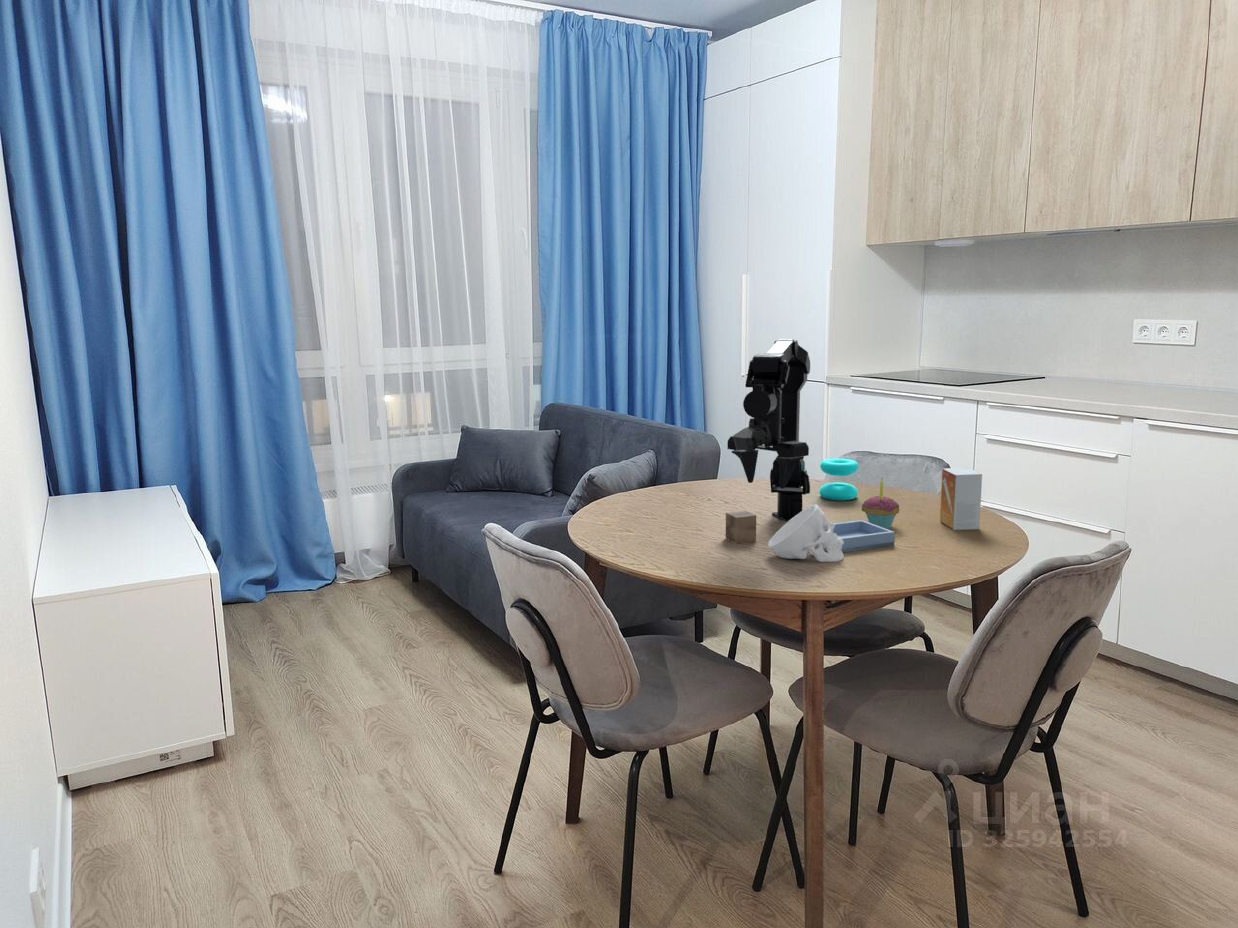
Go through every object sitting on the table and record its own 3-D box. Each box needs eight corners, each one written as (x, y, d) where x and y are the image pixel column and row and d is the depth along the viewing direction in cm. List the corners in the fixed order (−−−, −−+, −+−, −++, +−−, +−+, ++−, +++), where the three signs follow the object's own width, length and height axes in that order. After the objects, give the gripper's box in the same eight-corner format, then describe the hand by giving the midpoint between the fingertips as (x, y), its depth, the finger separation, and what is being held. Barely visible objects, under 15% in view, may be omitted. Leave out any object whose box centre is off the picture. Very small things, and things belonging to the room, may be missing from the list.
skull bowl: (855, 559, 182) (822, 508, 181) (794, 592, 185) (762, 543, 184) (851, 544, 192) (820, 496, 191) (793, 576, 195) (763, 529, 195)
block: (725, 538, 205) (725, 512, 203) (745, 536, 206) (745, 510, 205) (736, 544, 200) (736, 517, 199) (756, 541, 202) (756, 515, 201)
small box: (939, 521, 216) (941, 467, 213) (965, 521, 216) (968, 467, 213) (952, 530, 208) (955, 474, 205) (980, 529, 208) (983, 473, 206)
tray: (810, 539, 202) (810, 526, 202) (862, 532, 207) (862, 520, 206) (840, 552, 192) (841, 538, 191) (894, 545, 196) (894, 531, 196)
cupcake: (900, 531, 207) (902, 480, 205) (862, 530, 209) (863, 479, 207) (896, 522, 216) (898, 473, 213) (860, 521, 217) (861, 472, 215)
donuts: (850, 465, 234) (814, 462, 240) (849, 503, 236) (813, 498, 242) (864, 459, 242) (829, 456, 248) (863, 496, 244) (828, 492, 250)
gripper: (709, 413, 196) (709, 484, 199) (775, 419, 182) (773, 496, 184) (745, 409, 203) (744, 478, 206) (811, 416, 189) (809, 489, 191)
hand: (766, 485), depth 197 cm, fingers open, 9 cm apart
